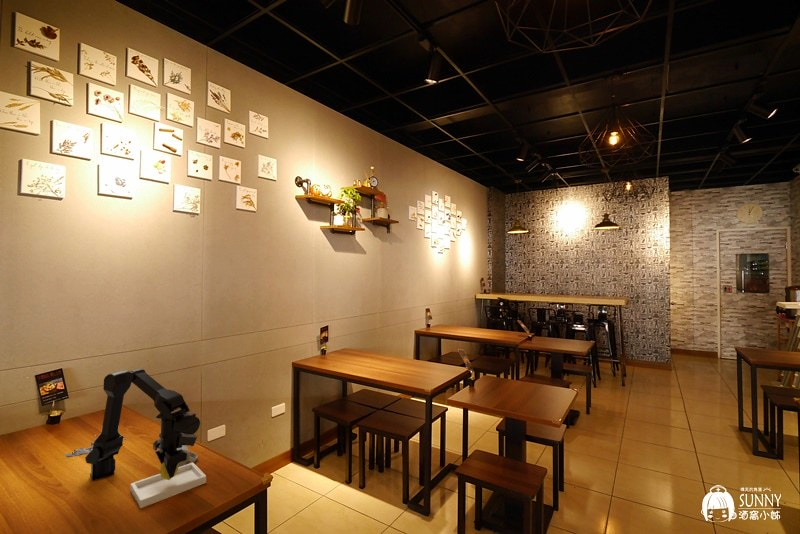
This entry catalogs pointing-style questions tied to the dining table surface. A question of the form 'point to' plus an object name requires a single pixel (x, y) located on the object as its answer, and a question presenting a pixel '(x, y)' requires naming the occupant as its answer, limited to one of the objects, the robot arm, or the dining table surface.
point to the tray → (167, 485)
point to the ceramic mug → (185, 448)
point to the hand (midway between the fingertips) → (169, 474)
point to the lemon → (164, 472)
